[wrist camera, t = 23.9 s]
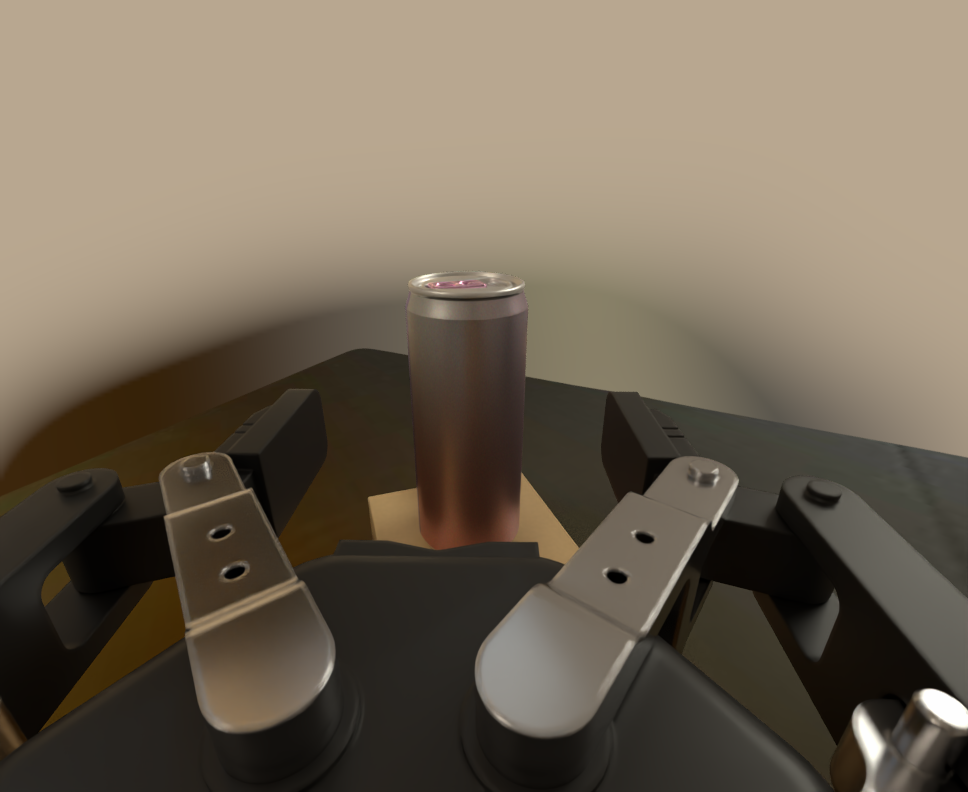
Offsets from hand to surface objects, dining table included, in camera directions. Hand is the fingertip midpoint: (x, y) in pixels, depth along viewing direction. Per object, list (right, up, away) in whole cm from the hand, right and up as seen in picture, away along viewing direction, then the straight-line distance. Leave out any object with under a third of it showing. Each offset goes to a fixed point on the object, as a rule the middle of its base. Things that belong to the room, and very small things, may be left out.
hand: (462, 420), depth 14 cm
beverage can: (0, -8, +16) cm, 18 cm away
